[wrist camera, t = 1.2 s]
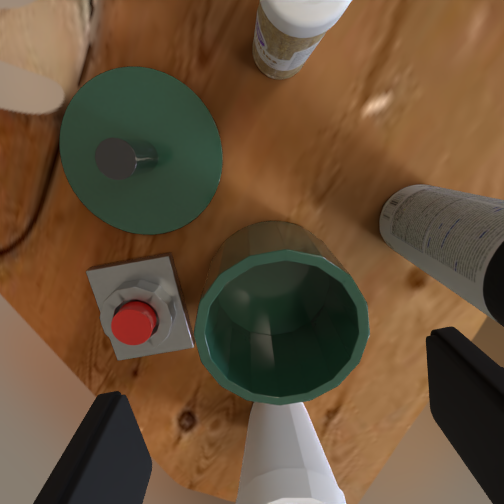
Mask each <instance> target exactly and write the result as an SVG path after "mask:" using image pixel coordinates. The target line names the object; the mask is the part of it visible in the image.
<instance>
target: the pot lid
mask: <svg viewBox="0 0 504 504" xmlns="http://www.w3.org/2000/svg"><path fill="white" fill-rule="evenodd" d="M59 143H60V155H61V162H62V165H63V169H64V172H65V175H66V177H67V179H68V182H69V184H70V185H71V187H72V189H73V191H74V192H75V194H76V195H77V197H78V198H79V199H80V201H81V202H82V203H83V204H84V205H85V206H86V207H87V208H88V209H89V210H90V211H91V212H92V213H93V214H94V215H96V216H97V217H98V218H100V219H101V220H103V221H104V222H106V223H108V224H110V225H111V226H113V227H116V228H118V229H121V230H123V231H127V232H131V233H136V234H143V235H154V234H162V233H167V232H171V231H174V230H176V229H179V228H181V227H183V226H185V225H187V224H188V223H190V222H191V221H193V220H194V219H195V218H196V217H198V216H199V215H200V214H201V213H202V212H203V211H204V210H205V208H206V207H207V206H208V204H209V203H210V201H211V200H212V198H213V196H214V194H215V192H216V190H217V187H218V185H219V182H220V178H221V174H222V165H223V151H222V144H221V139H220V135H219V131H218V129H217V126H216V124H215V121H214V119H213V117H212V115H211V114H210V112H209V110H208V109H207V107H206V106H205V104H204V103H203V102H202V100H201V99H200V98H199V97H198V96H197V95H196V94H195V93H194V92H193V91H192V90H191V89H190V88H188V87H187V86H186V85H185V84H184V83H182V82H181V81H179V80H177V79H176V78H174V77H172V76H170V75H168V74H166V73H164V72H161V71H158V70H155V69H151V68H145V67H121V68H116V69H112V70H109V71H106V72H104V73H102V74H99V75H97V76H96V77H94V78H93V79H91V80H90V81H88V82H87V83H86V84H85V85H84V86H83V87H81V88H80V89H79V91H78V92H77V93H76V94H75V96H74V97H73V98H72V100H71V102H70V103H69V105H68V107H67V109H66V112H65V114H64V117H63V120H62V124H61V129H60V138H59Z"/></svg>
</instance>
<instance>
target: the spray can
mask: <svg viewBox="0 0 504 504" xmlns="http://www.w3.org/2000/svg"><path fill="white" fill-rule="evenodd" d="M379 224H380V233H381V235H382V237H383V239H384V241H385V242H386V244H387V245H388V246H389V247H390V248H392V249H393V250H394V251H396V252H397V253H399V254H400V255H401V256H403V257H404V258H406V259H407V260H409V261H410V262H412V263H413V264H414V265H416V266H417V267H419V268H420V269H422V270H423V271H424V272H426V273H427V274H429V275H430V276H432V277H433V278H435V279H436V280H437V281H439V282H440V283H442V284H443V285H445V286H446V287H448V288H449V289H450V290H452V291H453V292H455V293H456V294H458V295H459V296H460V297H462V298H463V299H465V300H466V301H468V302H469V303H470V304H472V305H473V306H475V307H476V308H478V309H479V310H480V311H482V312H483V313H485V314H486V315H488V316H489V317H491V318H492V319H494V320H495V321H497V322H498V323H499V324H501V325H502V326H503V327H504V200H500V199H495V198H490V197H485V196H480V195H475V194H470V193H465V192H460V191H455V190H450V189H445V188H440V187H435V186H430V185H412V186H408V187H405V188H403V189H402V190H400V191H398V192H396V193H395V194H394V195H392V196H391V197H390V198H389V199H388V201H387V202H386V203H385V204H384V206H383V209H382V212H381V215H380V221H379Z"/></svg>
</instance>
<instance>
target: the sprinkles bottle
mask: <svg viewBox="0 0 504 504" xmlns="http://www.w3.org/2000/svg"><path fill="white" fill-rule="evenodd" d="M351 1H352V0H259V7H258V10H257V18H256V26H255V36H254V40H253V57H254V60H255V63H256V65H257V66H258V68H259V69H260V71H262V72H263V73H264V74H265V75H266V76H268V77H270V78H273V79H286V78H290V77H292V76H293V75H295V74H296V73H298V72H299V70H300V69H301V68H302V67H303V65H304V63H305V61H306V60H307V58H308V57H309V56H310V54H311V53H312V52H313V50H314V49H315V47H316V46H317V45H318V43H319V42H320V40H321V39H322V38H323V36H324V35H325V33H326V31H327V30H328V29H330V28H331V27H332V26H333V25H334V24H335V23H336V22H337V21H338V20H339V18H340V17H341V16H342V14H343V13H344V12H345V10H346V9H347V7H348V5H349V4H350V2H351Z"/></svg>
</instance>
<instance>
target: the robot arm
mask: <svg viewBox="0 0 504 504" xmlns="http://www.w3.org/2000/svg"><path fill="white" fill-rule="evenodd" d="M426 350H427V366H428V382H429V398H430V409H431V413H432V415H433V418H434V420H435V421H436V423H437V424H438V426H439V427H440V428H441V430H442V431H443V433H444V434H445V436H446V437H447V438H448V440H449V441H450V443H451V444H452V446H453V447H454V449H455V450H456V451H457V453H458V454H459V455H460V457H461V459H462V460H463V462H464V463H465V464H466V466H467V467H468V469H469V470H470V472H471V473H472V474H473V476H474V477H475V479H476V480H477V482H478V483H479V484H480V486H481V487H482V489H483V490H484V492H485V493H486V495H487V496H488V497H489V499H490V500H491V502H492V503H493V504H504V368H503V367H500V366H499V365H498V364H497V363H495V362H494V361H493V360H492V359H491V358H490V357H488V356H487V355H486V354H485V353H484V352H483V351H481V350H480V349H479V348H478V347H477V346H476V345H474V344H473V343H472V342H471V341H470V340H469V339H467V338H466V337H465V336H464V335H463V334H462V333H460V332H459V331H458V330H457V329H456V328H454V327H446V328H441V329H436V330H432V331H431V336H427V337H426ZM151 471H152V460H151V457H150V454H149V452H148V449H147V447H146V444H145V442H144V439H143V436H142V434H141V431H140V429H139V426H138V424H137V421H136V419H135V416H134V414H133V411H132V409H131V406H130V404H129V401H128V398H127V397H126V395H121V393H120V392H119V391H114V392H109V393H104V394H100V395H98V396H97V397H96V399H95V401H94V402H93V404H92V406H91V407H90V409H89V411H88V412H87V414H86V416H85V417H84V419H83V421H82V422H81V424H80V426H79V427H78V429H77V431H76V432H75V434H74V436H73V438H72V439H71V441H70V443H69V444H68V446H67V448H66V449H65V451H64V453H63V454H62V456H61V458H60V460H59V461H58V463H57V465H56V466H55V468H54V469H53V471H52V473H51V474H50V476H49V478H48V480H47V481H46V483H45V485H44V486H43V488H42V490H41V491H40V493H39V495H38V496H37V498H36V500H35V501H34V503H33V504H142V503H143V499H144V496H145V493H146V489H147V486H148V482H149V479H150V475H151Z"/></svg>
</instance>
